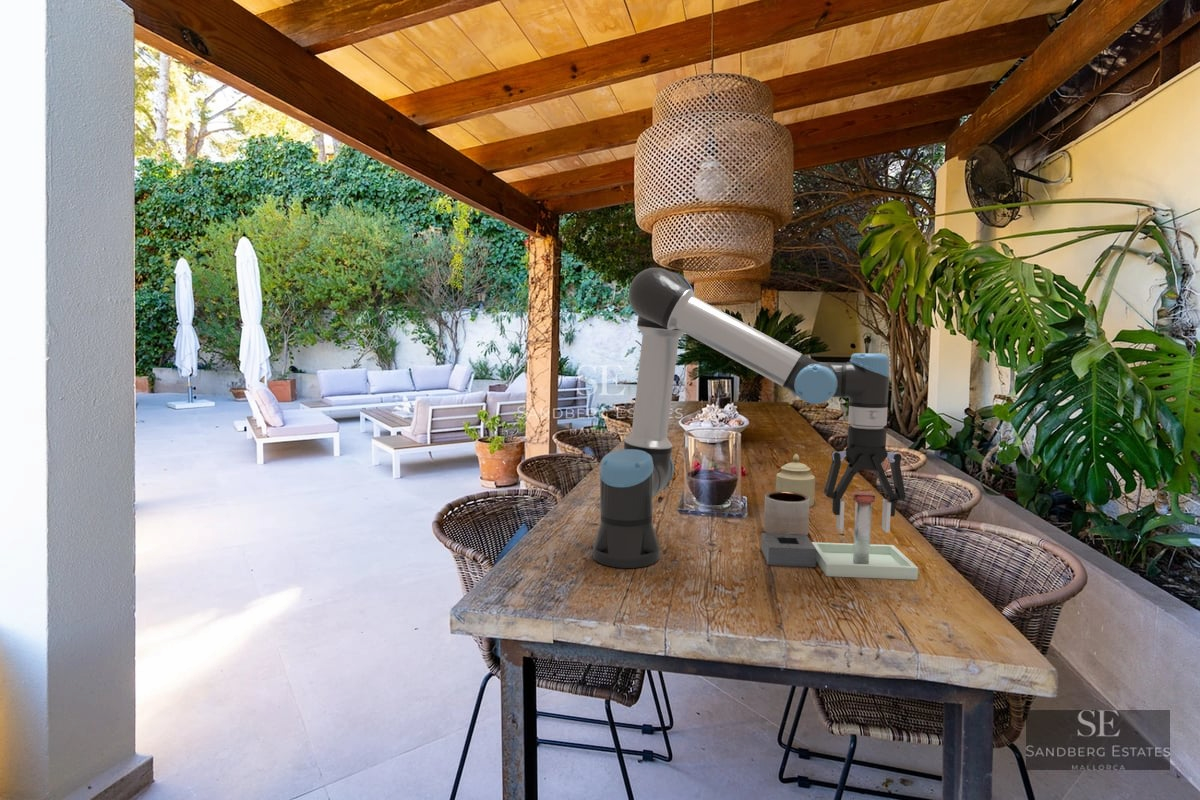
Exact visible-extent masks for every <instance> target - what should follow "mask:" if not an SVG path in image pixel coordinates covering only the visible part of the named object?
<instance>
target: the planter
mask: <svg viewBox="0 0 1200 800" xmlns="http://www.w3.org/2000/svg"><path fill="white" fill-rule="evenodd" d="M809 521H810V507H809V497H808V496H806V495H803V494H800V493H795V492H785V491H777V492H776V491H771V492H766V493H765V494H764V515H763V531H764V533H781V534H806V535H807V536H808V535H809V532H810V522H809Z"/></svg>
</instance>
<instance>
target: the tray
mask: <svg viewBox="0 0 1200 800" xmlns="http://www.w3.org/2000/svg"><path fill="white" fill-rule="evenodd" d="M811 542H812V544H813V545H814V546H815V548H816V564H818V565H819V567H820V569H821V570H822V572H823V573H824V575H825V576H826V577H835V578H837V577H838V578H862V579H863V578H864V579H867V578H868V579H888V580H891V579H892V580H910V581H911V580H912V581H917V580H919V579H918V577H919V567H918V566H917V565H915V563H913V561H911V560H910V559H909V558H908V557H907V556H906V555H905V554H904V553H903V552H901V551H900V550H899V549H898V548H897V546H895V545H894V544H875V543H874V544H871V543H870V552H869V564H854V563H853V549H854V543H844V542H843V543H841V542H840V543H839V542H837V543H836V542H817V541H815V542H814V541H811Z"/></svg>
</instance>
